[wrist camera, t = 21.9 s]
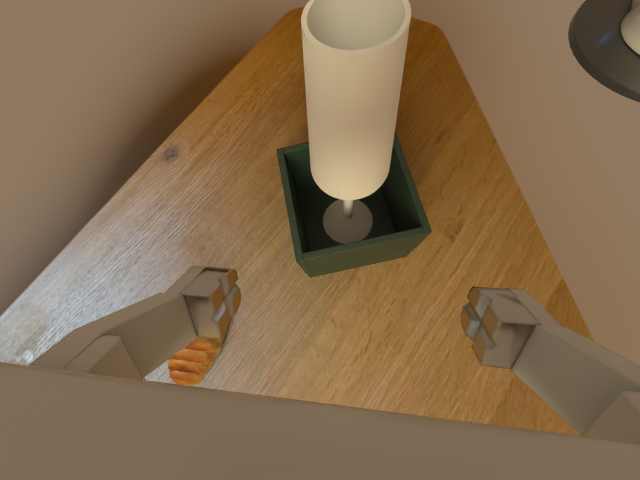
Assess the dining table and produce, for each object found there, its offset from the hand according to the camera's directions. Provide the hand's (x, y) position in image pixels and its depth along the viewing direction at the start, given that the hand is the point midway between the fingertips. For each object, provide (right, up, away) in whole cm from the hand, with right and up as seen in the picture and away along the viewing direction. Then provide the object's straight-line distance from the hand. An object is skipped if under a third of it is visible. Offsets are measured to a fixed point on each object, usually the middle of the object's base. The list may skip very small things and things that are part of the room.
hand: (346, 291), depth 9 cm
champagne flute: (+3, +4, +25) cm, 25 cm away
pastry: (-16, -11, +23) cm, 30 cm away
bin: (+3, +4, +26) cm, 26 cm away
